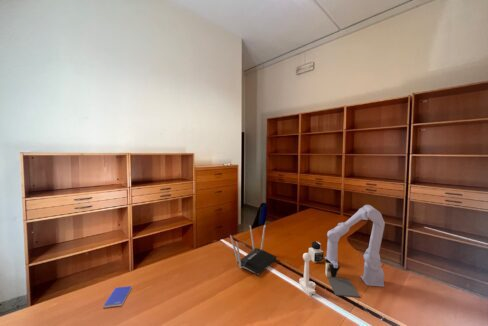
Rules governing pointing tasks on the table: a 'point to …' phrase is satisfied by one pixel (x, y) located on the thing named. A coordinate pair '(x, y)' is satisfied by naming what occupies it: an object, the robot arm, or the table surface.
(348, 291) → the mat
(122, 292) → the hard drive
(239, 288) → the table surface
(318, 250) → the medicine bottle
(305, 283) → the joystick
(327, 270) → the slab
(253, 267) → the wireless router
